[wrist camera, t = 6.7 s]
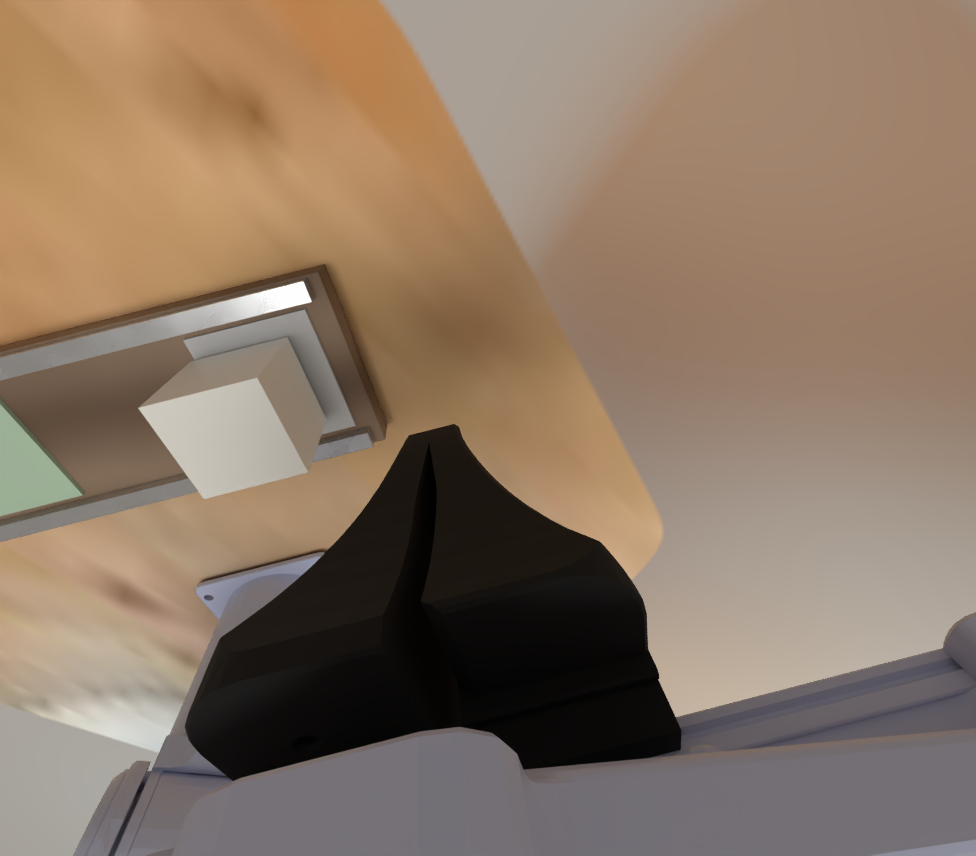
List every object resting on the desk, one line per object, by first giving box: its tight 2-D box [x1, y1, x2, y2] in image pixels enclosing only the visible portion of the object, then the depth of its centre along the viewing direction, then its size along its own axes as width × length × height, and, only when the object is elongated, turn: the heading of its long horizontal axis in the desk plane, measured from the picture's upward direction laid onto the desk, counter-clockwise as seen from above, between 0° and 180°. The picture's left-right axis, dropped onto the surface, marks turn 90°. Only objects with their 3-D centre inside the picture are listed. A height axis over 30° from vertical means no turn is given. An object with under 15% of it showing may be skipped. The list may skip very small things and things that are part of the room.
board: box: [0, 264, 387, 542], centre depth 20 cm, size 8×20×2 cm, turn 102°
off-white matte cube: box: [138, 337, 327, 499], centre depth 17 cm, size 4×4×4 cm
